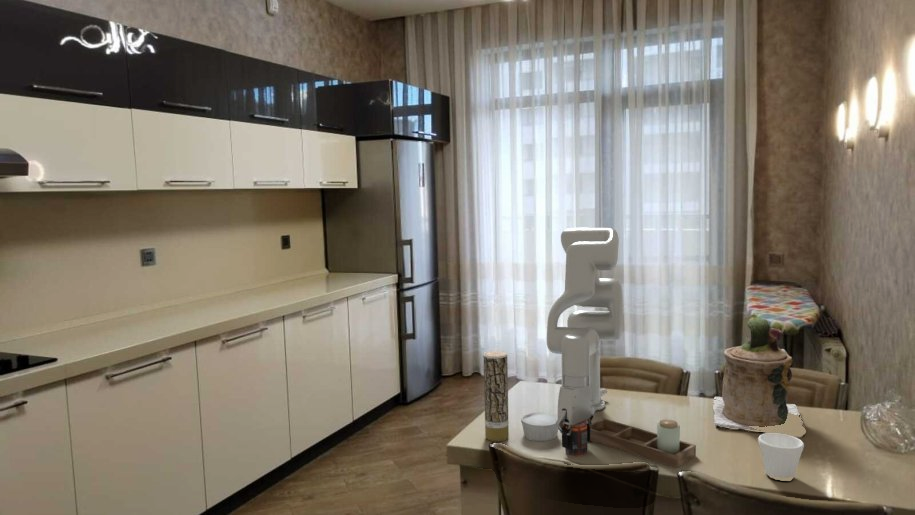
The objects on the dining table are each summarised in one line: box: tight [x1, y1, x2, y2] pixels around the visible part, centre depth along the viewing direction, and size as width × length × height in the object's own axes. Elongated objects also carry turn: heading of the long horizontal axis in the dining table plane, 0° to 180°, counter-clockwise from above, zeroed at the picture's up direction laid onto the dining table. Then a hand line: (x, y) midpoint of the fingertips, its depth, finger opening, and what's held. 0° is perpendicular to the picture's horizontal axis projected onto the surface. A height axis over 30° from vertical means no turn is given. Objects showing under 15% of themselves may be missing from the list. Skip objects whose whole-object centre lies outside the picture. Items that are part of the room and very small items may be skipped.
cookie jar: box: [712, 313, 804, 431], centre depth 193 cm, size 25×25×32 cm
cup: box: [757, 433, 805, 478], centre depth 156 cm, size 10×10×9 cm
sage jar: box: [656, 418, 681, 455], centre depth 168 cm, size 6×6×9 cm
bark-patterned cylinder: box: [483, 350, 510, 442], centre depth 184 cm, size 7×7×25 cm
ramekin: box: [520, 412, 559, 442], centre depth 186 cm, size 11×11×5 cm
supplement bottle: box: [564, 420, 588, 457], centre depth 173 cm, size 6×6×11 cm
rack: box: [588, 417, 697, 469], centre depth 175 cm, size 10×29×4 cm, turn 43°
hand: (576, 443), depth 173 cm, fingers open, 7 cm apart
